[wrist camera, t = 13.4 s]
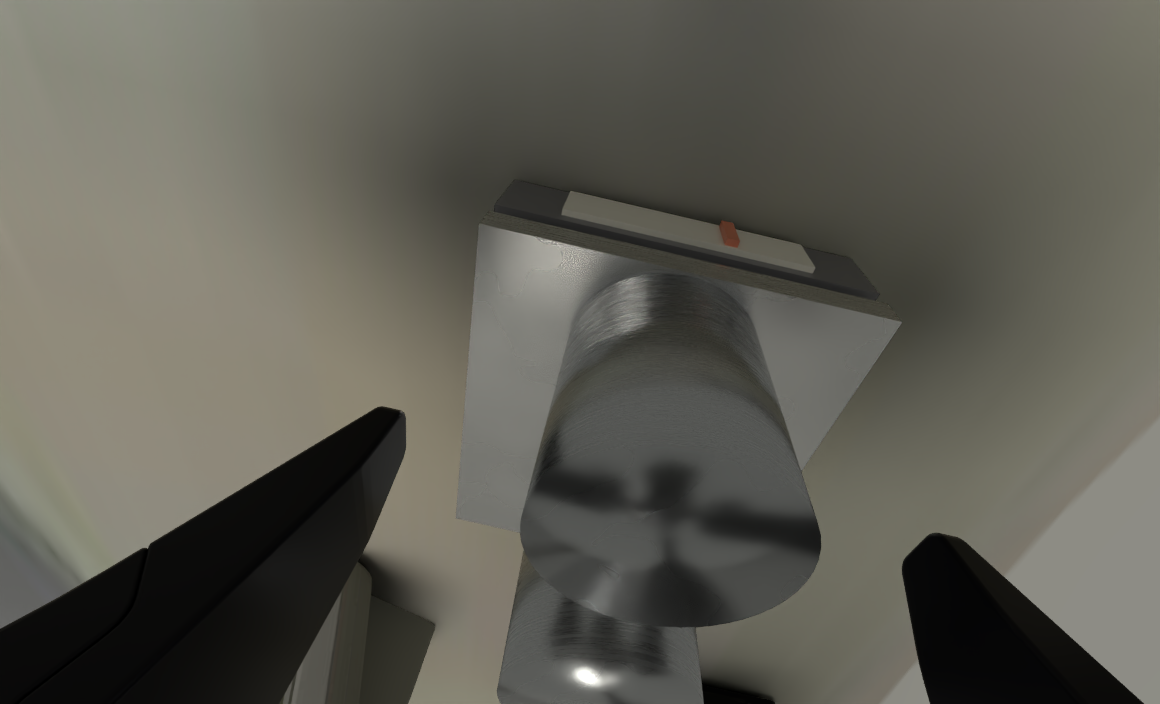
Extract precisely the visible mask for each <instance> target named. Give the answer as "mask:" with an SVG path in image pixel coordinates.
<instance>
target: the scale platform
mask: <svg viewBox="0 0 1160 704" xmlns="http://www.w3.org/2000/svg"><path fill="white" fill-rule="evenodd" d="M656 273H673V274H681V275H687V276H692V277H695V278H698V279H702V280H704V281H707V282H709V283H711V284H714V285H716V286H717V287H719V288H721V289H722V290H724V291H726V292H727V293H728V294H729V295H731V296H732V297H733V298H734V299H736V300H737V301H738V303H739V304H740V305H741V306H742V307H743V308H744V309H745V311H746V312H747V314H748V315H749V317H750V318H751V320H752V322H753V325H754V327H755V329H756V332H757V335H758V338H759V341H760V345H761V348H762V351H763V354H764V357H765V360H766V363H767V366H768V370H769V373H770V376H771V379H772V382H773V385H774V388H775V391H776V395H777V398H778V401H779V404H780V407H781V410H782V413H783V416H784V420H785V423H786V426H787V429H788V432H789V435H790V438H791V441H792V445H793V448H794V451H795V454H796V457H797V460H798V463H799V466H800V469H801V471H802V470H803V468H804V467H805V465H806V464H807V462H808V461H809V459H810V458H811V456H812V455H813V453H814V452H815V450H816V449H817V447H818V446H819V444H820V443H821V442H822V440H823V439H824V437H825V436H826V434H827V433H828V431H829V430H830V428H831V427H832V425H833V424H834V422H835V421H836V419H837V418H838V416H839V415H840V413H841V412H842V410H843V409H844V408H845V406H846V405H847V403H848V402H849V400H850V399H851V397H852V396H853V394H854V393H855V391H856V390H857V388H858V387H859V385H860V384H861V382H862V381H863V379H864V378H865V377H866V375H867V374H868V372H869V371H870V369H871V368H872V366H873V365H874V363H875V362H876V360H877V359H878V357H879V356H880V354H881V353H882V351H883V350H884V348H885V347H886V345H887V344H888V343H889V341H890V340H891V338H892V337H893V335H894V334H895V332H896V331H897V329H898V328H899V326H900V325H901V323H902V321H901V320H900V319H899V317H898V316H897V315H896V314H895V312H894V311H893V310H892V309H891V307H890V306H889V305H888V304H887V303H883V302H879V301H874V300H870V299H866V298H861V297H857V296H853V295H849V294H844V293H840V292H836V291H831V290H827V289H823V288H819V287H814V286H810V285H806V284H801V283H797V282H793V281H789V280H784V279H780V278H776V277H771V276H767V275H763V274H758V273H754V272H750V271H746V270H741V269H737V268H733V267H728V266H724V265H720V264H716V263H711V262H707V261H703V260H698V259H694V258H690V257H686V256H681V255H677V254H673V253H668V252H664V251H660V250H656V249H651V248H647V247H643V246H638V245H634V244H630V243H626V242H621V241H617V240H613V239H608V238H604V237H600V236H596V235H591V234H587V233H583V232H578V231H574V230H570V229H565V228H561V227H557V226H553V225H548V224H544V223H540V222H535V221H531V220H527V219H523V218H518V217H514V216H510V215H505V214H501V213H497V212H493V211H489V212H488V213H487V214H486V216H485V217H484V218H483V219H482V220H481V222H480V223H479V229H478V242H477V255H476V267H475V280H474V293H473V306H472V318H471V331H470V344H469V356H468V369H467V382H466V395H465V407H464V420H463V433H462V445H461V458H460V471H459V483H458V496H457V509H456V518H457V519H462V520H466V521H471V522H475V523H479V524H484V525H488V526H493V527H497V528H502V529H506V530H511V531H515V532H519V533H520V523H521V516H522V512H523V508H524V505H525V501H526V497H527V493H528V489H529V486H530V482H531V478H532V474H533V470H534V466H535V463H536V459H537V455H538V451H539V447H540V444H541V440H542V436H543V432H544V428H545V424H546V421H547V417H548V413H549V409H550V405H551V402H552V398H553V394H554V390H555V386H556V382H557V379H558V375H559V371H560V367H561V363H562V360H563V356H564V352H565V348H566V344H567V340H568V337H569V333H570V330H571V327H572V325H573V323H574V321H575V319H576V318H577V316H578V315H579V313H580V312H581V310H582V309H583V308H584V307H585V306H586V304H587V303H588V302H589V301H590V300H591V299H593V298H594V297H595V296H596V295H597V294H599V293H600V292H602V291H603V290H605V289H606V288H608V287H610V286H612V285H614V284H616V283H618V282H620V281H623V280H626V279H629V278H632V277H635V276H641V275H646V274H656Z"/></svg>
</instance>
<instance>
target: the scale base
mask: <svg viewBox="0 0 1160 704" xmlns="http://www.w3.org/2000/svg"><path fill="white" fill-rule="evenodd" d="M494 212H497V213H501V214H505V215H510V216H514V217H518V218H523V219H527V220H531V221H535V222H540V223H544V224H548V225H553V226H557V227H561V228H565V229H570V230H574V231H578V232H583V233H587V234H591V235H596V236H600V237H604V238H608V239H613V240H617V241H621V242H626V243H630V244H634V245H638V246H643V247H647V248H651V249H656V250H660V251H664V252H668V253H673V254H677V255H681V256H686V257H690V258H694V259H698V260H703V261H707V262H711V263H716V264H720V265H724V266H728V267H733V268H737V269H741V270H746V271H750V272H754V273H758V274H763V275H767V276H771V277H776V278H780V279H784V280H789V281H793V282H797V283H801V284H806V285H810V286H814V287H819V288H823V289H827V290H831V291H836V292H840V293H844V294H849V295H853V296H857V297H861V298H866V299H870V300H874V301H876V299H877V298H878V296H879V293H878V291H877V290H876V289H875V288H874V286H873V285H872V284H871V283H870V281H869V280H868V279H867V278H866V276H865V275H864V274H863V273H862V271H861V270H860V269H859V268H858V267H857V265H856V264H855V263H854V262H853V260H852V259H851V258H847V257H843V256H839V255H834V254H830V253H826V252H821V251H817V250H813V249H809V248H804V247H802V246H801V244H796V243H792V242H788V241H784V240H779V239H775V238H771V237H767V236H762V235H758V234H754V233H749V232H745V231H741V230H737V229H735V227H734V224H733V223H731V222H727V221H722V220H721V223H720V225H715V224H711V223H707V222H702V221H698V220H694V219H690V218H685V217H681V216H677V215H673V214H668V213H664V212H660V211H656V210H651V209H647V208H643V207H638V206H634V205H630V204H626V203H621V202H617V201H613V200H609V199H604V198H600V197H596V196H591V195H587V194H583V193H579V192H574V191H570V192H565V191H561V190H557V189H552V188H548V187H544V186H540V185H535V184H531V183H527V182H523V181H518V180H514V181H513V182H512V184H511V185H510V186H509V187H508V188H507V190H506V191H505V192H504V193H503V195H502V196H501V197H500V198H499V200H498V201H497V202H496V203H495V206H494Z"/></svg>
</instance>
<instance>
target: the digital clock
mask: <svg viewBox="0 0 1160 704" xmlns="http://www.w3.org/2000/svg"><path fill="white" fill-rule="evenodd" d="M371 589H372V579H371V575H370V574H369V572H368V571H367V569H365V568H364V567H363V566H362V565H361V564H360V563H358V562H357V564H356V566H355V568H354V569H353V571H352V573H351V575H350V577H349V579H348V580H347V582H346V584H345V586H344V588H343V589H342V591H341V593H340V595H339V597H338V598H337V600H336V602H335V604H334V606H333V608H332V609H331V611H330V613H329V615H328V617H327V618H326V620H325V622H324V624H323V626H322V627H321V629H320V631H319V633H318V635H317V636H316V638H315V640H314V642H313V644H312V646H311V647H310V649H309V651H308V653H307V655H306V656H305V658H304V660H303V662H302V664H301V665H300V667H299V669H298V671H297V673H296V675H295V676H294V678H293V680H292V682H291V684H290V685H289V687H288V689H287V691H286V693H285V694H284V696H283V698H282V700H281V702H280V704H408V702H409V700H410V697H411V695H412V692H413V689H414V686H415V683H416V681H417V678H418V675H419V672H420V669H421V666H422V663H423V661H424V658H425V655H426V652H427V649H428V646H429V644H430V641H431V638H432V635H433V632H434V624H433V623H432V622H430V621H428V620H426V619H423V618H421V617H419V616H417V615H414V614H412V613H410V612H408V611H405V610H403V609H401V608H399V607H396V606H394V605H392V604H390V603H387V602H385V601H383V600H381V599H378V598H376V597H374V596H371Z"/></svg>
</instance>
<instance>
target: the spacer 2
mask: <svg viewBox="0 0 1160 704" xmlns="http://www.w3.org/2000/svg"><path fill="white" fill-rule="evenodd" d="M497 696H498V699H499V701H500V703H501V704H704V701H703V691H702V682H701V672H700V663H699V653H698V644H697V634H696V627H660V626H652V625H644V624H638V623H633V622H628V621H624V620H620V619H616V618H613V617H610V616H607V615H604V614H601V613H598V612H595V611H593V610H591V609H588V608H586V607H584V606H582V605H580V604H578V603H576V602H574V601H572V600H570V599H569V598H567V597H566V596H564V595H563V594H561V593H560V592H558V591H557V590H556V589H554V588H553V587H552V586H551V585H549V584H548V583H547V582H546V581H545V580H544V579H543V578H542V577H541V576H540V575H539V574H538V572H537V571H536V570H535V568H534V567H533V566H532V564H531V563H530V561H529V559H528V557H527V556H526V554H525V551H523V556H522V562H521V567H520V572H519V577H518V583H517V588H516V593H515V599H514V604H513V609H512V614H511V620H510V625H509V630H508V635H507V641H506V646H505V651H504V657H503V662H502V667H501V672H500V678H499V683H498V688H497Z"/></svg>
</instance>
